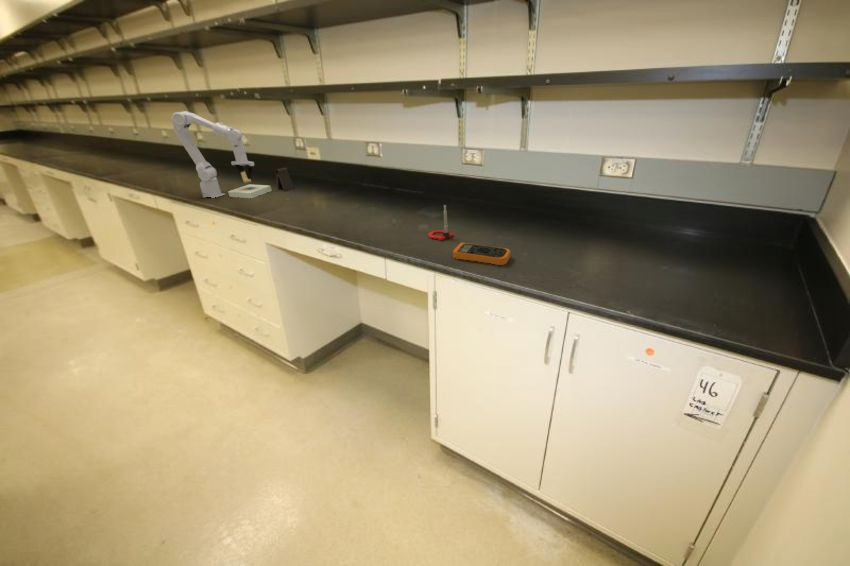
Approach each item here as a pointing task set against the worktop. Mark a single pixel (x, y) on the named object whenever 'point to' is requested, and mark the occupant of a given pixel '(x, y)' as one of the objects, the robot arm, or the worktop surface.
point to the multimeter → (482, 253)
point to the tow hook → (445, 231)
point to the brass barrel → (245, 177)
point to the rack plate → (250, 191)
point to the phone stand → (283, 179)
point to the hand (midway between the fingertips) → (246, 178)
